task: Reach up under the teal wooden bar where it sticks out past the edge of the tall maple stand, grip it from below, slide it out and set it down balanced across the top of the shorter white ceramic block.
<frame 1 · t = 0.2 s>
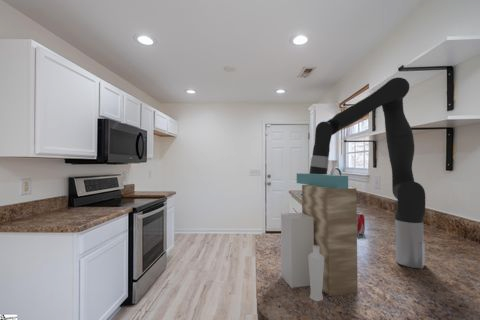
hand: (314, 201, 106), 23 cm above the countertop, tool pointing down, fingers open, 8 cm apart
perfume bottle: (315, 298, 69), on the countertop
teal bar: (318, 185, 84), point 32 cm above the countertop, touching maple stand
maple stand: (327, 281, 79), on the countertop
white block: (297, 280, 79), on the countertop
soda can: (357, 233, 136), on the countertop
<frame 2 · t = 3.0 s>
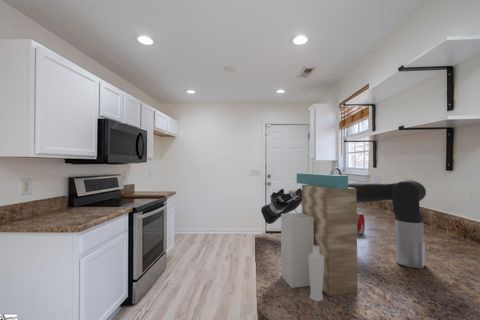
hand: (291, 190, 105), 28 cm above the countertop, tool pointing upward, fingers open, 8 cm apart
nothing on the countertop moved.
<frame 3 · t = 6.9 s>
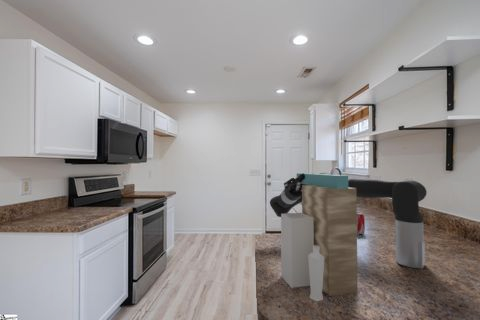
hand: (309, 175, 91), 35 cm above the countertop, tool pointing upward, fingers closed on teal bar, 4 cm apart
teal bar: (318, 185, 84), point 32 cm above the countertop, touching gripper, maple stand
everything else where it was.
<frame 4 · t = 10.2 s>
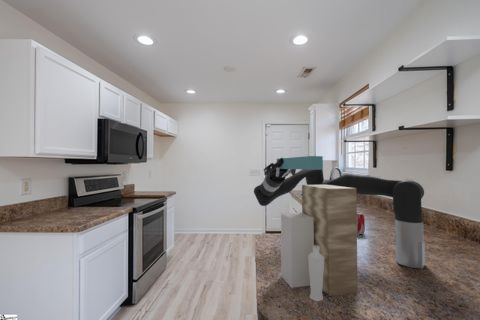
hand: (288, 159, 88), 41 cm above the countertop, tool pointing upward, fingers closed on teal bar, 4 cm apart
teal bar: (296, 169, 82), point 38 cm above the countertop, touching gripper
everything else where it was.
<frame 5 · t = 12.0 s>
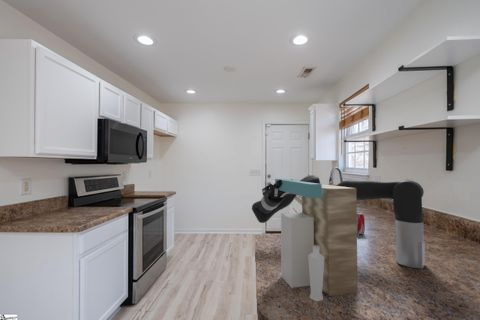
hand: (286, 181, 87), 33 cm above the countertop, tool pointing upward, fingers closed on teal bar, 4 cm apart
teal bar: (294, 192, 80), point 30 cm above the countertop, touching gripper
everything else where it was.
when the fingers open (26 cm above the countertop, at t = 13.6 s): teal bar stays where it is, resting on white block.
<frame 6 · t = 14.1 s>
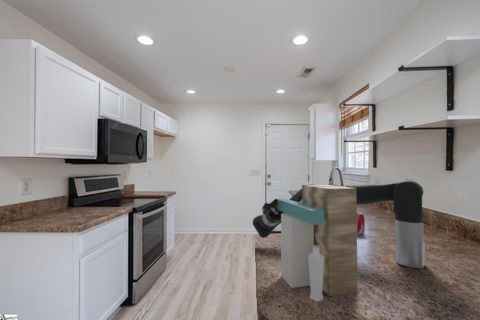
hand: (287, 200, 87), 26 cm above the countertop, tool pointing upward, fingers open, 8 cm apart
teal bar: (296, 215, 80), point 22 cm above the countertop, touching white block
everything else where it was.
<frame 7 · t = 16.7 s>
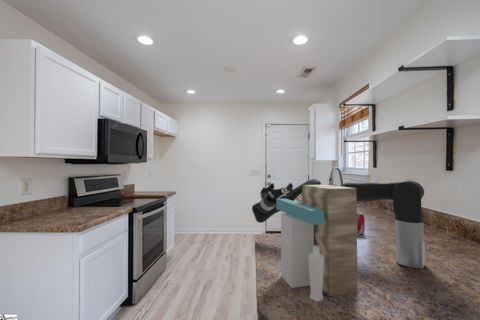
hand: (282, 185, 100), 31 cm above the countertop, tool pointing upward, fingers open, 8 cm apart
nothing on the countertop moved.
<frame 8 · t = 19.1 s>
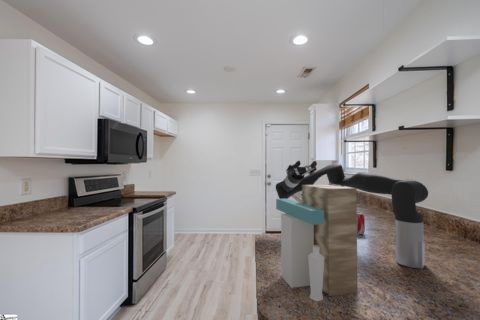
hand: (307, 162, 111), 41 cm above the countertop, tool pointing upward, fingers open, 8 cm apart
nothing on the countertop moved.
at the end: teal bar inside the target area on the white block (0.1 cm from its centre), point 22.0 cm above the white block's base; teal bar touching white block; the gripper is holding nothing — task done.
